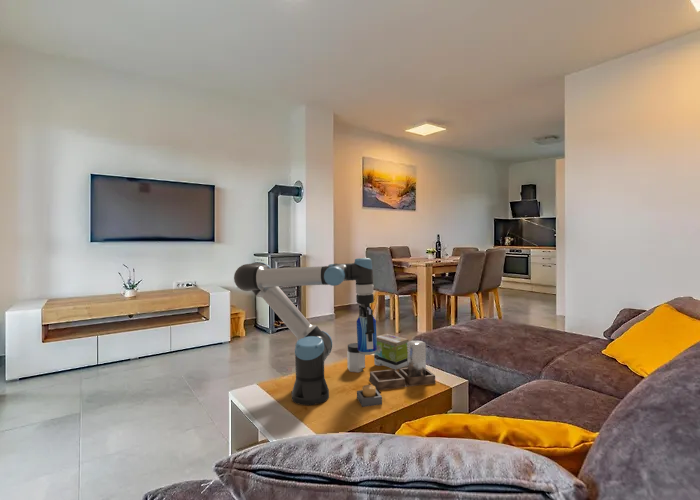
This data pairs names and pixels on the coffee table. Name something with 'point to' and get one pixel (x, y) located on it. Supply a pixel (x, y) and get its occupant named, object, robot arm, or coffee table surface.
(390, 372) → the tray
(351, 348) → the jar
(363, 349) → the beer can
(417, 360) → the billet
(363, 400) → the button housing
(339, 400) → the coffee table surface
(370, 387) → the button
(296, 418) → the coffee table surface
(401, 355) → the tea box
